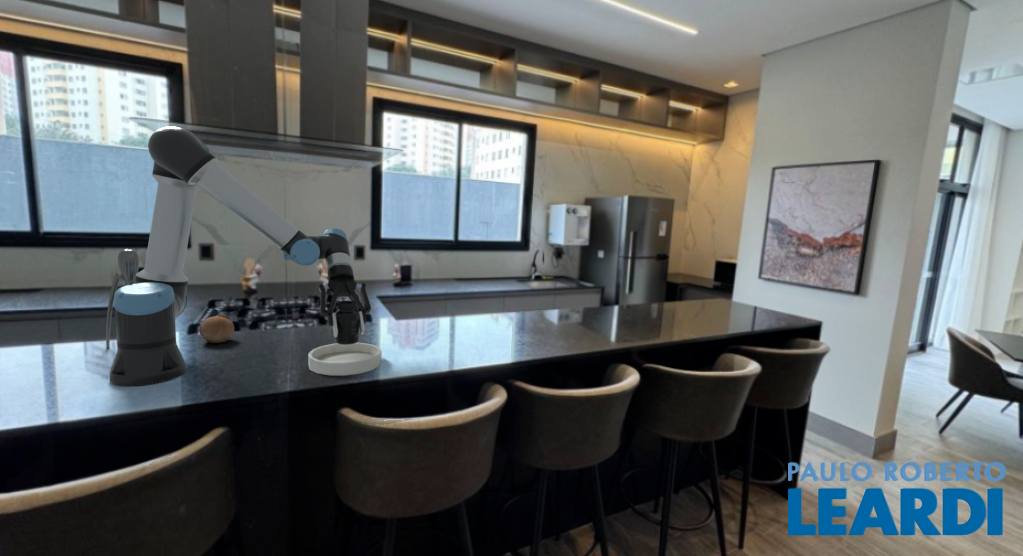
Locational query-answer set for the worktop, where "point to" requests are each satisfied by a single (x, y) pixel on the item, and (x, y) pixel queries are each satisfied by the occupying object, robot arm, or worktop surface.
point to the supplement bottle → (347, 323)
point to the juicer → (128, 269)
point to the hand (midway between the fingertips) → (349, 333)
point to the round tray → (344, 359)
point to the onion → (217, 329)
